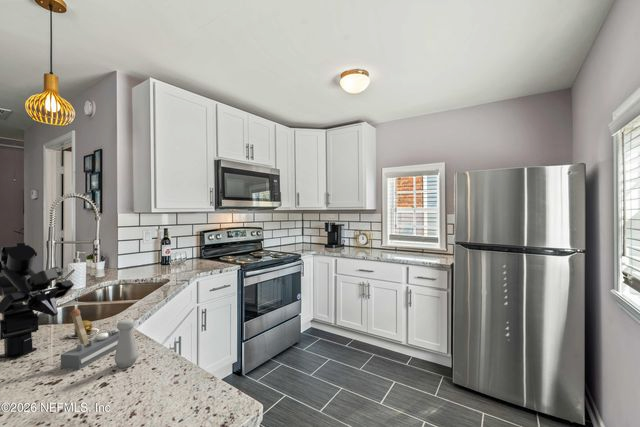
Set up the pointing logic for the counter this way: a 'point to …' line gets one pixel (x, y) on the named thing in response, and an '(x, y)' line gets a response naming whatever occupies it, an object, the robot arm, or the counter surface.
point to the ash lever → (79, 326)
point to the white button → (102, 336)
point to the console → (89, 352)
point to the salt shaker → (126, 344)
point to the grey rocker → (113, 330)
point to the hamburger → (87, 328)
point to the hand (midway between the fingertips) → (55, 314)
